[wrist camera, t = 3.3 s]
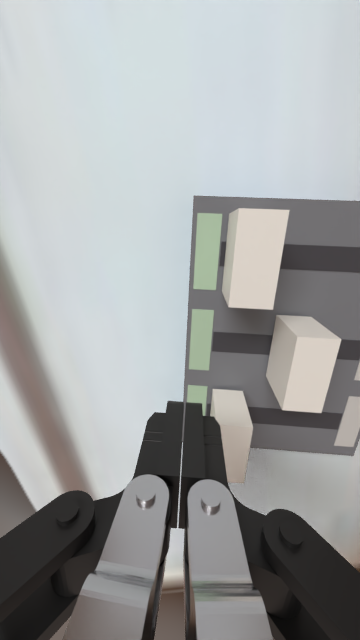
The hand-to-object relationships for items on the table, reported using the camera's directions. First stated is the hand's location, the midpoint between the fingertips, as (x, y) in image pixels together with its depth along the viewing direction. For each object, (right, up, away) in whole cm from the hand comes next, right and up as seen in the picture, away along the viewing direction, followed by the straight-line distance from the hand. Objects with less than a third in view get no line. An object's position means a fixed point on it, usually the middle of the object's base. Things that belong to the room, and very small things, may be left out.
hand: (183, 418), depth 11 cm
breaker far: (+4, -4, +10) cm, 11 cm away
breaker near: (+4, +9, +6) cm, 11 cm away
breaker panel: (+8, +3, +11) cm, 14 cm away
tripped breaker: (+8, +2, +8) cm, 11 cm away
